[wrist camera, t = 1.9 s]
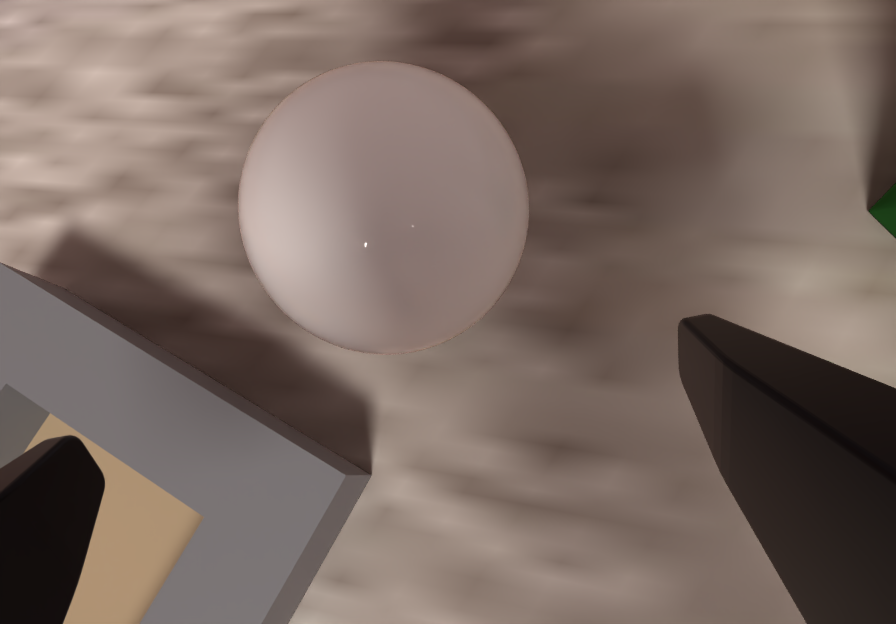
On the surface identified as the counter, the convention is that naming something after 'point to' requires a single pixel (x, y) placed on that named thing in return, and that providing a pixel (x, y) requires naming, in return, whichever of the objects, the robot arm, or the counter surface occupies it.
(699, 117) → the counter surface
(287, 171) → the lightbulb
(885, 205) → the milk carton
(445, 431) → the counter surface
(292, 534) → the holder
